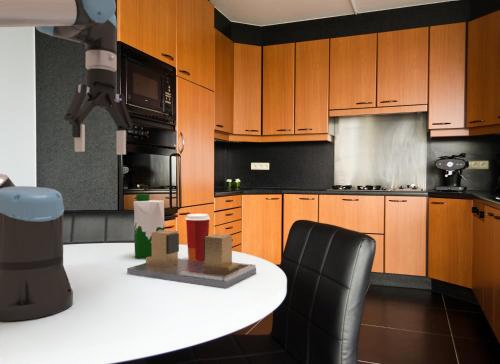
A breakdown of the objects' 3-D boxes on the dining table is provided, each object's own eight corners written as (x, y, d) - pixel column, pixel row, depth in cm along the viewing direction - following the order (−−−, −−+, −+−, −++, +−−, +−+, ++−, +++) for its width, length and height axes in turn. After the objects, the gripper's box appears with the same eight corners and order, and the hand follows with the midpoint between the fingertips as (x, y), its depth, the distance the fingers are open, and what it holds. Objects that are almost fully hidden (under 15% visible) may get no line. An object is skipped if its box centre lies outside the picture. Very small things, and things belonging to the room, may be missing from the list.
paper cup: (212, 257, 125) (212, 213, 125) (207, 262, 118) (207, 216, 117) (188, 257, 126) (188, 213, 126) (181, 262, 118) (181, 215, 118)
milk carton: (139, 253, 132) (139, 193, 131) (166, 253, 131) (166, 193, 131) (131, 259, 123) (131, 195, 123) (160, 259, 123) (160, 195, 122)
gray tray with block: (225, 288, 91) (225, 242, 91) (127, 273, 104) (127, 234, 104) (256, 273, 105) (256, 233, 105) (166, 262, 118) (166, 227, 118)
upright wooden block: (229, 275, 96) (229, 238, 96) (202, 272, 100) (202, 236, 100) (238, 271, 101) (238, 236, 101) (213, 268, 104) (213, 234, 104)
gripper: (69, 55, 89) (70, 149, 90) (145, 80, 112) (145, 155, 112) (48, 60, 93) (48, 150, 93) (125, 82, 115) (126, 155, 115)
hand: (101, 153), depth 102 cm, fingers open, 13 cm apart
